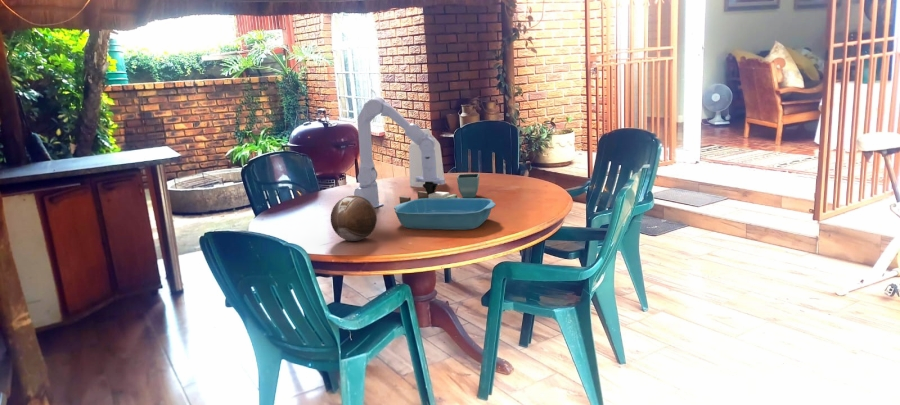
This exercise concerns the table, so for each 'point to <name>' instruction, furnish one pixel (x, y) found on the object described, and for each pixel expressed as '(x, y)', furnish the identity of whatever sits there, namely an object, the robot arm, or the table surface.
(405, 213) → the casserole dish
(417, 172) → the milk
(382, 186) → the table surface
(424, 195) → the trap lane
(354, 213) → the wooden sphere
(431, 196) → the block
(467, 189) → the flower pot
